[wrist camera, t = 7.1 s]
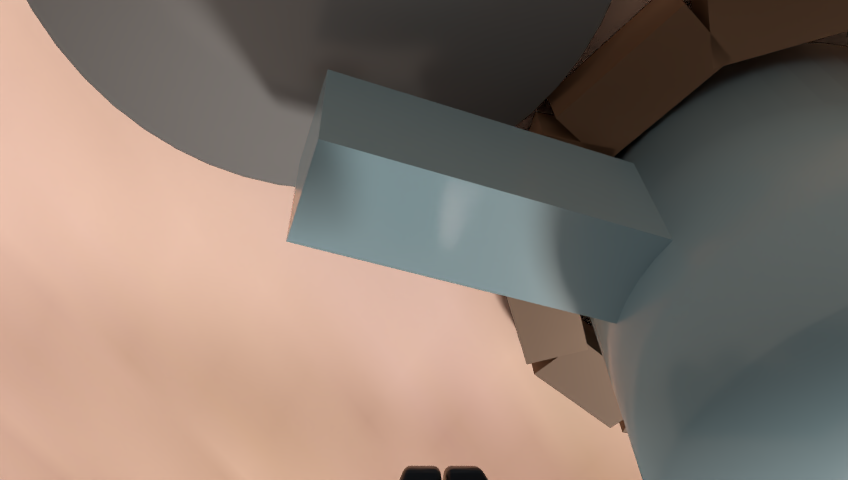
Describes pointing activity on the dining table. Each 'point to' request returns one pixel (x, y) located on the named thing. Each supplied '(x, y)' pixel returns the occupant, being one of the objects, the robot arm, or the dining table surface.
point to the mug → (634, 247)
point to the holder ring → (633, 114)
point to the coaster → (309, 63)
